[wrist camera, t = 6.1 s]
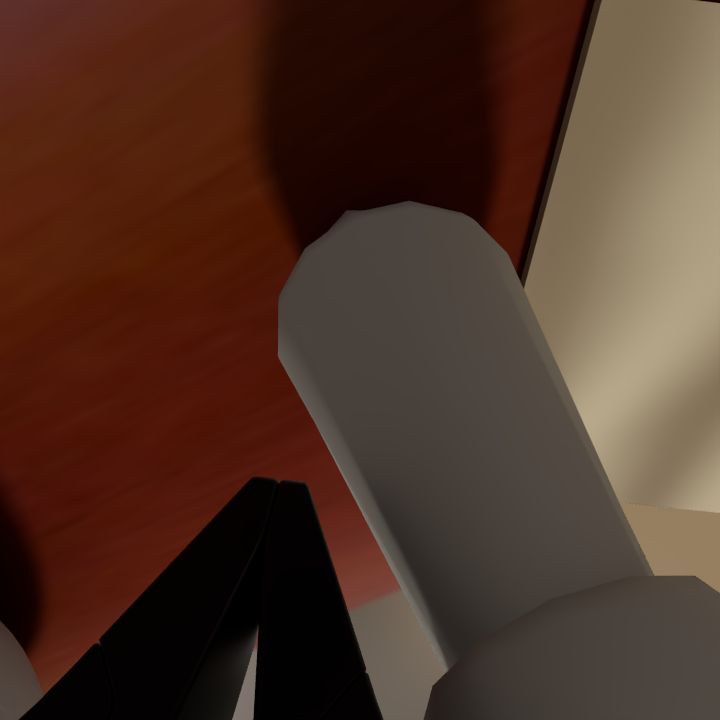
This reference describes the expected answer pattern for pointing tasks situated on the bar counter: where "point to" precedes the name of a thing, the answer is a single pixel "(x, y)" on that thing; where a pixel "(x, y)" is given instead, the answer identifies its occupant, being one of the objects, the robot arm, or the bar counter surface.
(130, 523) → the bar counter surface
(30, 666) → the serving bowl
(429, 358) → the salt shaker
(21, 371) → the bar counter surface
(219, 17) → the bar counter surface
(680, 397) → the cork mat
